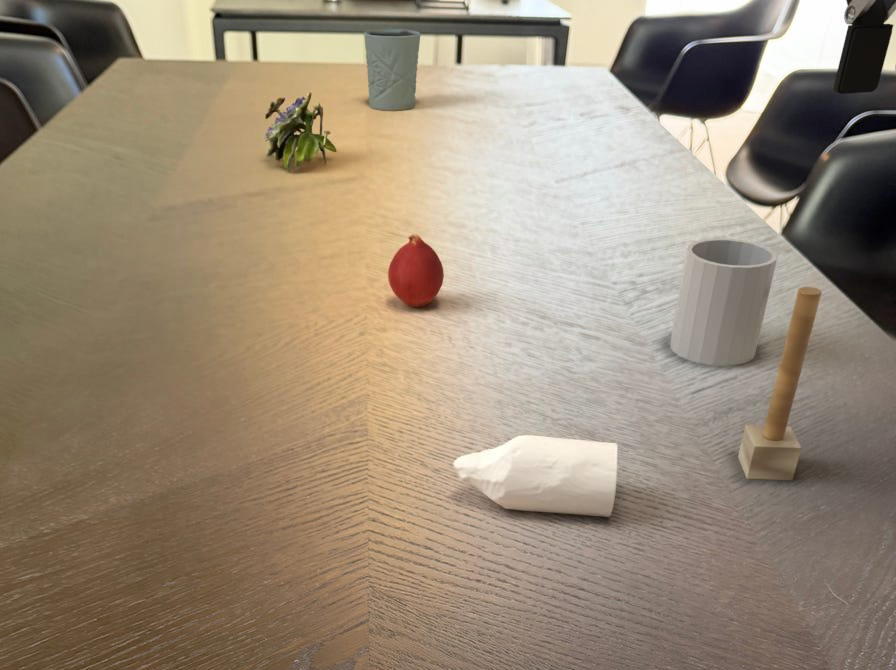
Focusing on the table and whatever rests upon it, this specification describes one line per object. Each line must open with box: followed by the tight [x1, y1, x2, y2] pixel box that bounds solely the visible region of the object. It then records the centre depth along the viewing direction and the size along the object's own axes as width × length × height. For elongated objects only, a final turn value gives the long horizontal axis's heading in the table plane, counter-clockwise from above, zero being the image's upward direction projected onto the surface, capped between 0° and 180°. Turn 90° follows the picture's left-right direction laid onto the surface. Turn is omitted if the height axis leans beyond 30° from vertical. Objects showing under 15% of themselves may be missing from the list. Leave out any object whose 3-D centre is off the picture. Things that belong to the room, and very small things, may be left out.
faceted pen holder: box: [669, 237, 779, 367], centre depth 97 cm, size 8×8×10 cm
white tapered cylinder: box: [453, 434, 619, 518], centre depth 75 cm, size 6×12×6 cm, turn 83°
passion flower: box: [264, 91, 337, 173], centre depth 154 cm, size 11×11×12 cm
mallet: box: [737, 286, 822, 481], centre depth 76 cm, size 4×4×15 cm
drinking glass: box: [363, 28, 421, 112], centre depth 185 cm, size 10×10×12 cm
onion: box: [387, 233, 445, 308], centre depth 106 cm, size 6×6×8 cm
